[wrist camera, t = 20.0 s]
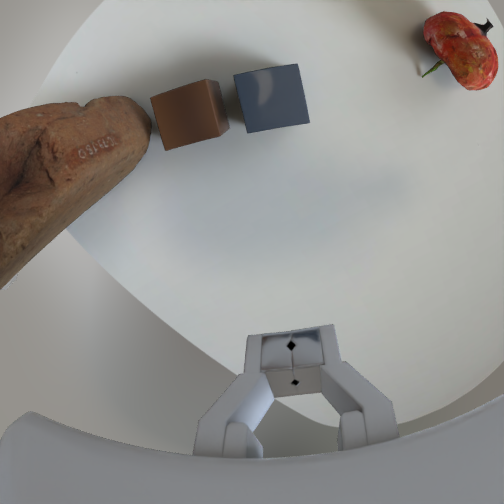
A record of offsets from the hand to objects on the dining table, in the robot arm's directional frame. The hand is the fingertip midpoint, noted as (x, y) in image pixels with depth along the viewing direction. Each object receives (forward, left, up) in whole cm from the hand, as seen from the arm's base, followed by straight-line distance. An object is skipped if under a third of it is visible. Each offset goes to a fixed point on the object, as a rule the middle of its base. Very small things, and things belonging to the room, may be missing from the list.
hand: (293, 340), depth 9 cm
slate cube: (+1, +8, -18) cm, 19 cm away
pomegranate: (+18, +11, -18) cm, 27 cm away
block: (-15, +8, -18) cm, 24 cm away
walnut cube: (-5, +8, -18) cm, 20 cm away
